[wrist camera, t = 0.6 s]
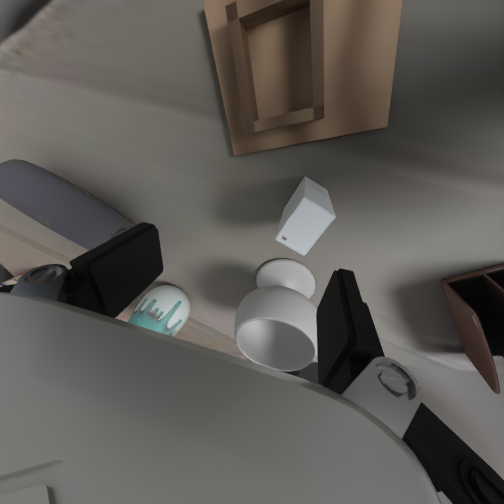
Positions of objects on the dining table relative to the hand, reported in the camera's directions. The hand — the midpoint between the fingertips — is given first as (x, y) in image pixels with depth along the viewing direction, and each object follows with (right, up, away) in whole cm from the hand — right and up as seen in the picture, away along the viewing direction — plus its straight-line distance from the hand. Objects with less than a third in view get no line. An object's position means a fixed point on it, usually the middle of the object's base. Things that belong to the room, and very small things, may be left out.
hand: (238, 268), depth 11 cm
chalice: (+8, -5, +31) cm, 33 cm away
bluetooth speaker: (-33, +12, +33) cm, 48 cm away
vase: (-19, -11, +42) cm, 48 cm away
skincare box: (+9, +9, +22) cm, 25 cm away
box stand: (+6, +23, +14) cm, 28 cm away
